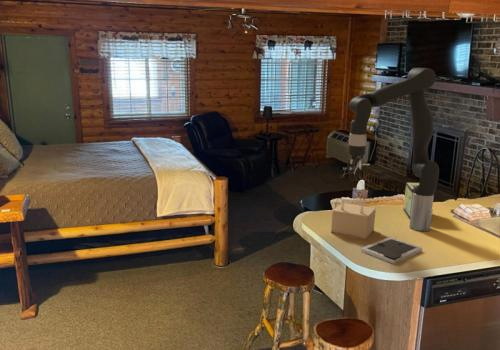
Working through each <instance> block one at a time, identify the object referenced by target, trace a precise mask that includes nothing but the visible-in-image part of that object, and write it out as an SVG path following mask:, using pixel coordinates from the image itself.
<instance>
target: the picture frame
mask: <svg viewBox="0 0 500 350" xmlns="http://www.w3.org/2000/svg"><path fill="white" fill-rule="evenodd" d="M360 252H362V253H363V252H364V254H367V255H369V256H371V255H372V256H371V257H373V258H376V257H377V258H376V259H379V260H382V261H384V262H387V263H390V264H391V265H395V264H398V263H400V262H401V261H404V260H406V259H409V258H410V257H412V256H415V255H417V254H419V253H422V252H423V247H421V246H418V245H414V244H412V243H409V242H406V241H403V240H400V239H397V238H394V237H391V236H389V237H386V238H384V239H382V240H378V241H376V242H373V243H371V244H368V245H366V246H363V247H361V248H360Z"/></svg>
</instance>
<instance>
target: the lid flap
mask: <svg viewBox="0 0 500 350" xmlns="http://www.w3.org/2000/svg"><path fill="white" fill-rule="evenodd" d="M340 200H341V203H340V204H339V205H338V206H336V207H335V208H333V209H332V213H333V212H335V213H341V214H346V215H352V216H358V217H363V218H368V217H369V216H370V215H371V214H372V213H373V212H374V211H375V210H376V209H377V208H376V207H372V206H371V207H370V206H365V200H361V199H355V198H348V197H343V196H342V197H341V199H340ZM347 202H348V203H347ZM375 212H376V211H375Z"/></svg>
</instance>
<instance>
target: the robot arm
mask: <svg viewBox="0 0 500 350" xmlns="http://www.w3.org/2000/svg"><path fill="white" fill-rule="evenodd" d="M436 80H437V75H436V73H435V71H434V70H433V69H431V68H428V67H413V68H411V70H410V71H408V73H407V77H406V79H405V80H402V81H399V82H395V83H390V84H388V85H384V86H382V87H380V88H378V89H375V90H373V91H372V92H367V93H364V94H361V95H358V96H355V97H353V98H352V99H351V100H350V101H349V104H348V108H349V110H350V111H351V112H352V113H354V114H355V118H354V119H352V120H351V121H350V126H349V128H350V130H349V137H348V145H347V154H348V155H350V156H351V158H348V165H347V173H348V182H349V183H354V182H355V179H360V177H361V170H362V168H363V164H364V163H363V161H364V156H365V155H366V150H367V131H368V123H369V120H370V117H371V114H372V109H373V108H379V107H381V106H383V105H386V104H387V103H390V102H392V101H395V100H397V99H399V98H402V97H405V96H407V95H409V103H410V115H411V119H410V120H411V121H410V122H411V134H412V167H411V169H412V172H413V175H414V176H415V177H417V178H419V182H418V183H419V185H417V186H415V187H414V189H413V198H412V207H411V216H410V219H409V228H410V229H411V230H414V231H419V232H429V231H430V230H431V227H432V219H433V218H432V217H433V205H434V196H435V191H436V189H437V187H438V182H439V176H440V167H439V165H438V163H437V162H435V161H432V160H429V151H428V149H429V144H430V142H431V139H432V138H433V137H432V136H433V134H434V118H433V114H432V111H431V109H430V107H429V105H428V103H427V100H426V97H425V96H426V94H425V93H426V92H425V90H429V89H430V88H432V87H433V86H434V84H435V83H436Z"/></svg>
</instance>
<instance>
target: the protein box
mask: <svg viewBox="0 0 500 350" xmlns="http://www.w3.org/2000/svg"><path fill="white" fill-rule="evenodd" d="M417 185H419V182H411V181H410V182H409V181H406V182H405V193H404V201H403V211H404V213H405V215H406V216H407V217H408V219H409V220H410V216H411V207H412V198H413V189H414V187H415V186H417Z"/></svg>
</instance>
